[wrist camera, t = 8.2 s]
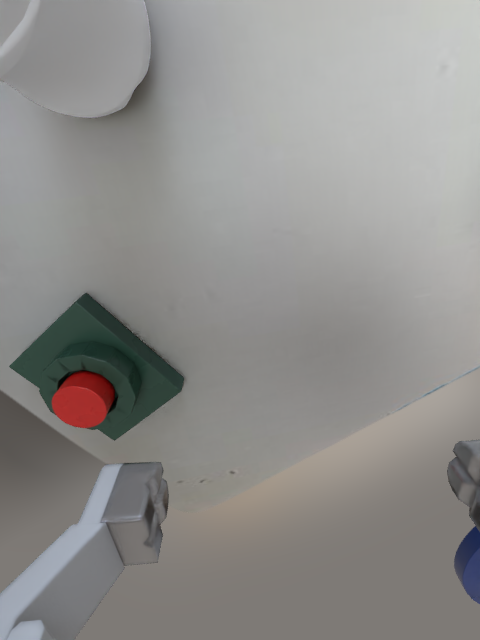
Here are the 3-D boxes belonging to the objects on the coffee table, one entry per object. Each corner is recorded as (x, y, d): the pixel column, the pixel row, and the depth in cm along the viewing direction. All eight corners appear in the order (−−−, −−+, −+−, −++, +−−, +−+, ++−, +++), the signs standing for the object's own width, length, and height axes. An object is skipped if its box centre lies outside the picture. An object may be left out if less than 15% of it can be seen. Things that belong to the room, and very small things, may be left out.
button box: (184, 378, 27) (178, 407, 23) (120, 426, 29) (106, 458, 26) (86, 292, 23) (62, 313, 20) (22, 354, 25) (-9, 381, 22)
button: (125, 393, 23) (117, 410, 22) (94, 418, 24) (84, 436, 23) (85, 361, 22) (73, 377, 20) (53, 389, 23) (40, 406, 21)
